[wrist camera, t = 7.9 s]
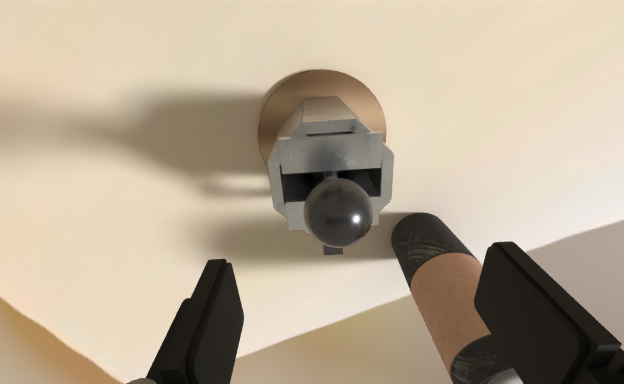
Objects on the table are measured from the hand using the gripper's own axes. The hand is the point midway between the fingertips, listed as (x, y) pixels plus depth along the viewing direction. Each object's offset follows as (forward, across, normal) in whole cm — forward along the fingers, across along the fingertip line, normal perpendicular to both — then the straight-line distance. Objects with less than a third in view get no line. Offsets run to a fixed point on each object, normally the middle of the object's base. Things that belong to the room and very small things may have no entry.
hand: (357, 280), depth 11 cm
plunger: (+20, 0, +1) cm, 20 cm away
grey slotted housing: (+23, 0, +3) cm, 23 cm away
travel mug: (+23, -12, +15) cm, 30 cm away
